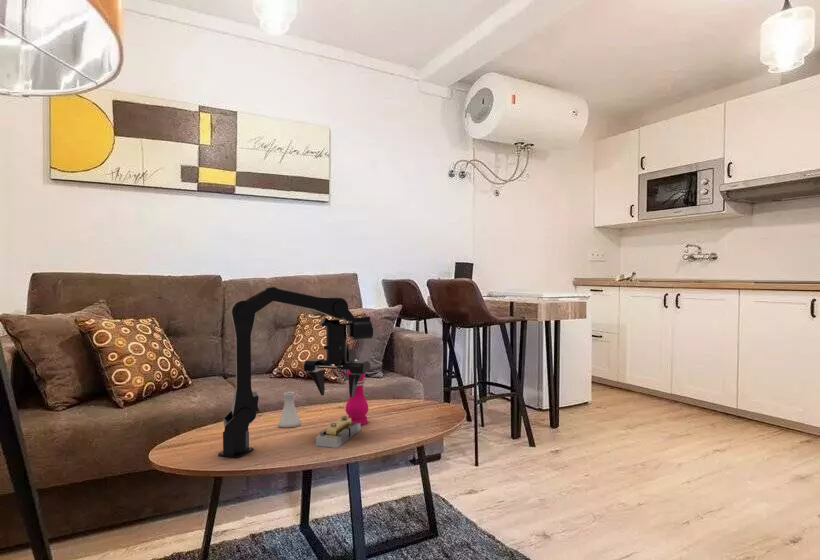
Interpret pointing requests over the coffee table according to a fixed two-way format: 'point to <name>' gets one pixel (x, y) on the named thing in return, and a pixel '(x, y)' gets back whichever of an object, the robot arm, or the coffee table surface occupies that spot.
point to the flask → (289, 412)
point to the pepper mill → (357, 403)
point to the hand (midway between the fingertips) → (337, 396)
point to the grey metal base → (341, 438)
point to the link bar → (338, 426)
